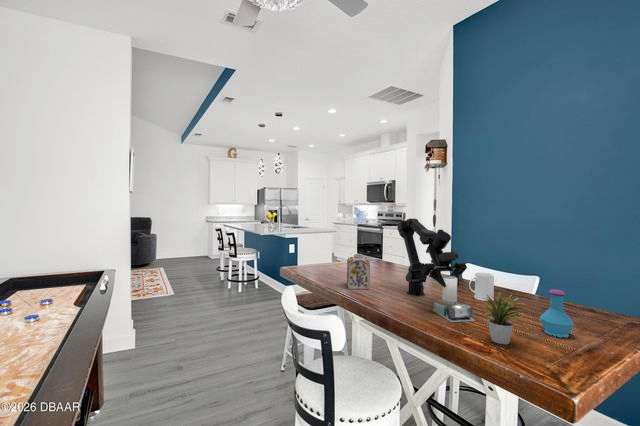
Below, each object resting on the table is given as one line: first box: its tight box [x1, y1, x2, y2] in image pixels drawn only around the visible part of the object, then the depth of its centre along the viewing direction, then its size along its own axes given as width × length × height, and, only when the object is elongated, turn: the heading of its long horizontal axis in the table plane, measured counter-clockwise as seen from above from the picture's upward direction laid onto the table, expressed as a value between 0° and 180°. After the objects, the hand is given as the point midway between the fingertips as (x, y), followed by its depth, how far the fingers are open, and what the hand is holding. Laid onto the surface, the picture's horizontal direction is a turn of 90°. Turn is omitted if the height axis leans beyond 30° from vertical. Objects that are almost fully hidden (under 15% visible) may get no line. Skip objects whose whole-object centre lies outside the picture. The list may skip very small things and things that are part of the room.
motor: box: [432, 302, 475, 323], centre depth 120 cm, size 13×10×6 cm
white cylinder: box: [441, 274, 458, 305], centre depth 123 cm, size 6×6×10 cm
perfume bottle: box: [539, 289, 574, 338], centre depth 104 cm, size 9×9×15 cm
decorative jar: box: [346, 253, 371, 290], centre depth 164 cm, size 12×12×18 cm
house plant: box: [481, 290, 529, 345], centre depth 96 cm, size 14×14×16 cm
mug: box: [468, 271, 495, 302], centre depth 144 cm, size 12×8×12 cm
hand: (451, 286), depth 121 cm, fingers closed on white cylinder, 5 cm apart
